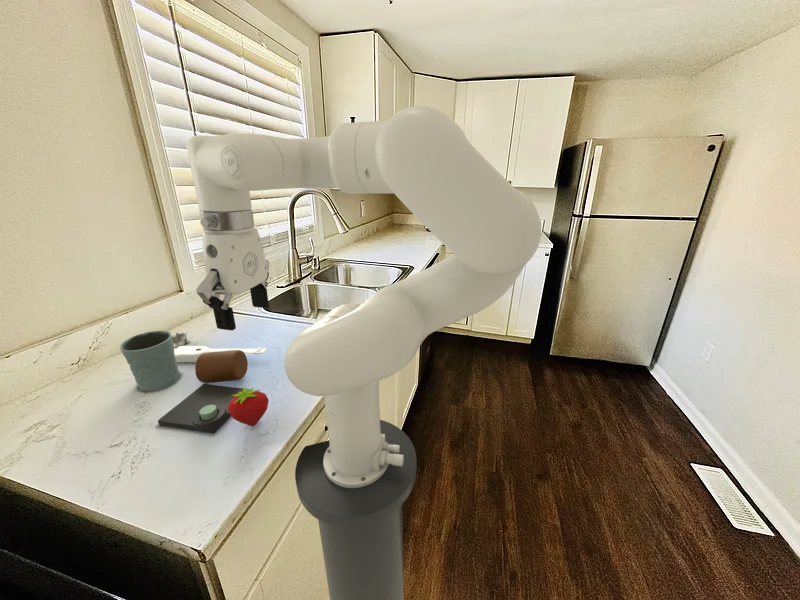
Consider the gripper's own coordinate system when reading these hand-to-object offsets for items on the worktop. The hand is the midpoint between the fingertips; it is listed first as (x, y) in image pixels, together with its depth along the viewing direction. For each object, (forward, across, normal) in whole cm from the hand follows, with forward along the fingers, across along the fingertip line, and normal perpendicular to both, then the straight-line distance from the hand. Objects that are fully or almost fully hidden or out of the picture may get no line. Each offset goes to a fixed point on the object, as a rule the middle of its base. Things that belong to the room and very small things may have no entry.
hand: (245, 317), depth 59 cm
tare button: (+22, -3, +10) cm, 25 cm away
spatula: (+26, +21, +28) cm, 44 cm away
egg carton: (+26, +23, +45) cm, 57 cm away
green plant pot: (+26, +9, +35) cm, 44 cm away
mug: (+21, +16, +14) cm, 30 cm away
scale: (+25, +2, +15) cm, 29 cm away
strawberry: (+25, -1, +2) cm, 25 cm away
